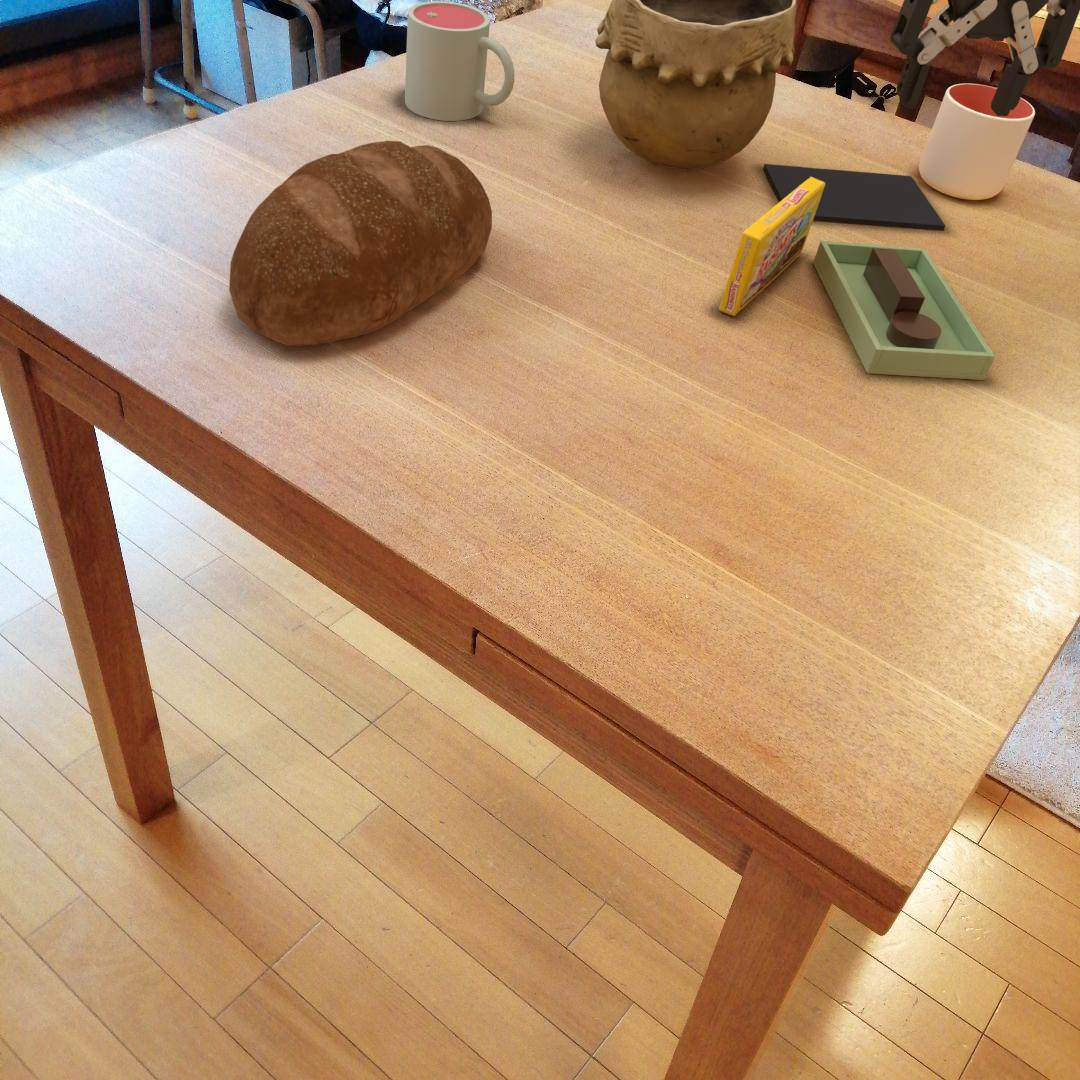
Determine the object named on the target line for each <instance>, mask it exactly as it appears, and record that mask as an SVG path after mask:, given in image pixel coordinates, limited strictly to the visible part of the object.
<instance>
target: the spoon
mask: <svg viewBox="0 0 1080 1080" xmlns="http://www.w3.org/2000/svg"><path fill="white" fill-rule="evenodd" d="M863 275H864V277H865V279H866V280H867V282H868V284H869V286H870V288H871V289H872V291H873V293H874V295H875V297H876V299H877V300H878V302H879V304H880V306H881V308H882V309H883V311H884V313H885V315H886V317H887V319H888V320H889V322H890V324H889V326H888V329H887V331H886V336H887V338H888V340H889V341H890V342H891V343H892V344H893V345H895V346H896V347H905V348H921V349H934V348H935V346H936V344H937V341H938V339H939V337H940V334H941V328H940V326H939V325H938V324H937V323H936V322H935V321H934V320H933V319H931V318H929V317H927V316H925V315H923V314H919V312H920V309H921V307H922V304H923V302H924V300H925V297H924V295H923V294H922V292H921V290H920V289H919V287H918V285H917V284H916V282H915V280H914V279H913V277H912V275H911V274H910V272H909V271H908V269H907V267H906V266H905V264H904V262H903V261H902V259H901V257H900V256H899V254H898V252H897V251H896V249H884V248H873V249H872V251H871V254H870V257H869V260H868V262H867V265H866V268H865V271H864V273H863Z"/></svg>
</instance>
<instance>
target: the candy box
mask: <svg viewBox="0 0 1080 1080" xmlns="http://www.w3.org/2000/svg"><path fill="white" fill-rule="evenodd" d="M824 187H825V182H823V181H820V180H818V179H815V178H813V177H810V178H809V179H807V180H806V181H805V182H803V183H802V184H801V185H800V186H798V187H797V188H796V189H795V190H794V191H792V192H791V193H790V194H789V195H788V196H786V197H785V198H784V199H783V200H782V201H780V202H779V201H778V203H777V204H775V205H774V206H773V207H772V208H770V209H769V210H768V211H766V212H765V213H764V214H763V215H762V216H760V218H759V219H757V220H756V221H755V222H753V223H752V224H751V225H750V226H749V227H747V229H745V230H744V231H743V232H742V235H741V238H740V241H739V244H738V247H737V250H736V254H735V257H734V260H733V263H732V266H731V269H730V272H729V276H728V279H727V282H726V285H725V288H724V291H723V295H722V298H721V301H720V304H719V307H718V311H719V312H721V313H723V314H727V315H729V316H731V317H736V315H737V314H739V313H740V311H741V310H743V309H744V308H745V307H746V306H747V305H748V304H749V303H750V302H752V301H753V299H755V298H756V297H757V296H758V295H759V294H760V293H761V292H763V290H765V289H766V288H767V287H768V286H769V285H770V284H771V283H772V282H773V281H774V280H775V279H776V278H777V277H778V276H779V275H780V274H781V273H783V272H784V270H786V269H787V268H788V267H789V266H790V265H791V264H792V263H793V262H794V261H795V260H796V259H797V258H799V257H800V256H801V255H802V252H803V250H804V246H805V244H806V241H807V239H808V235H809V233H810V231H811V227H812V224H813V222H814V220H813V219H814V216H815V213H816V210H817V207H818V205H819V202H820V199H821V196H822V193H823V190H824Z"/></svg>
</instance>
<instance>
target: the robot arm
mask: <svg viewBox="0 0 1080 1080" xmlns="http://www.w3.org/2000/svg"><path fill="white" fill-rule="evenodd" d="M938 1H939V0H903V2H902V4H901V7H900V10H899V13H898V15H897V18H896V19H895V20H896V21H895V23H894V26H893V28H892V31H891V33H890V36H889V40H890V42H891V43H892V44H893V46H894V47H895V48H896V49H897V50H898V51H899V53H900V54H902V55H904V56H906V58H905V60H904V61H905V62H904V64H903V67H902V70H901V73H900V76H899V80H898V82H897V85H896V95H897V96H898V98H899V102H900V104H902V106H903V107H904V108H906V109H915V108H916V107H917V105H918V102H919V99H920V96H921V93H922V91H923V88H924V84H925V83H926V79H927V76H928V74H929V71H930V69H931V65H930V64H929V62H931V61H932V60H933V59H935V57H936V56H937V55H939V54H940V53H941V52H942V51H943V50H944V49H945V48H948V47H951V46H953V45H955V44H956V43H957V42H958V41H959V40H960V39H962V37H964V36H965V37H966V39H973V40H978V39H979V40H980V39H985V38H987V39H990V40H992V41H994V42H1004V40H1005V42H1007V45H1008V46H1007V47H1008V50H1009V53H1010V57H1011V60H1012V62H1011V64H1008V63H1007V64H1006V65H1005V68H1004V70H1003V73H1002V75H1001V77H1000V80H999V83H998V85H997V87H996V88H997V90H996V92H995V95H994V97H993V100H992V102H991V109H992V110H993V111H994V112H995V113H996V115H997V116H1007V115H1008V114H1009V112H1010V110H1014V108H1015V107H1016V106H1017V105H1018V103H1019V100H1020V97H1021V98H1022V96H1023V93H1024V91H1025V88H1026V86H1027V84H1028V81H1029V79H1030V77H1031V75H1032V74H1033V73H1035V72H1036V70H1039V69H1042V68H1046V67H1047V68H1049V69H1054V68H1057V67H1058V66H1059V65H1060V63H1061V61H1062V59H1063V56H1064V54H1065V52H1066V48H1067V46H1068V44H1069V41H1070V37H1071V35H1072V32H1073V30H1074V27H1075V24H1076V21H1077V19H1078V16H1079V14H1080V0H947V4H945V6H944V7H942V8H941V9H940V10H939V11H938V12H937V13H936V14H935V15H934V16H932V17H931V18H930V20H929V21H928V24H927V26H926V27H925V28H924V29H923V27H924V24H925V22H926V19H927V17H928V15H929V11H930V10H931V7H932V6H933V5H935V4H937V3H938ZM1044 7H1045V9H1046V12H1047V15H1046V18H1045V21H1044V23H1043V27H1042V29H1041V31H1040V35H1039V37H1038V40H1037V43H1036V40H1035V36H1034V32H1033V28H1032V23H1031V19H1032V18H1033V17H1035V16H1036V14H1038V12H1040V11H1041V10H1042V9H1043V8H1044ZM952 22H953V23H952ZM951 23H952V24H951ZM922 29H923V30H922ZM1035 45H1036V46H1035Z"/></svg>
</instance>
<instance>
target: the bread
mask: <svg viewBox="0 0 1080 1080" xmlns="http://www.w3.org/2000/svg"><path fill="white" fill-rule="evenodd" d="M492 228H493V209H492V206H491V201H490V197H489V196H488V194H487V193H486V190H485V188H484V186H483V184H482V182H481V181H480V180H479V179H478V177H477V176H476V175H475V173H474V172H473V171H472V170H471V169H470V168H469V167H468V166H467V165H466V163H464V162H463V161H462V160H461V159H460V158H459V157H456V156H454V155H452V154H451V153H448V152H446V151H444V150H443V149H441V148H439V147H436V146H433V145H430V144H429V145H428V144H427V145H424V144H423V145H416V146H409V145H408V144H407V143H405V142H402V141H400V140H399V141H398V140H383V141H375V142H369V143H365V144H361V145H358V146H356V147H352V148H350V149H348V150H345V151H342V152H339V153H331V154H327V155H325V156H322V157H319V158H317V159H314V160H312V161H310V162H307V163H305V164H303V165H302V166H300V167H299V168H298V169H297V170H295V171H294V172H293V173H292V174H291V175H290V176H289V177H288V178H287V179H285V180H284V181H283V182H282V183H281V184H279V185H278V186H277V187H275V188H274V189H273V190H272V191H271V192H270V194H268V196H267V197H265V198H264V199H263V200H262V201H261V203H260V204H258V206H257V207H256V208H255V209H254V211H253V212H252V214H251V215H250V217H249V219H248V220H247V222H246V225H245V226H244V228H243V231H242V233H241V235H240V236H239V238H238V241H237V243H236V246H235V248H234V250H233V253H232V257H231V260H230V267H229V289H228V290H229V294H230V296H231V300H232V303H233V306H234V309H235V312H236V315H237V318H238V319H239V320H240V321H241V322H243V324H245V325H246V326H248V327H249V328H250V329H251V330H253V331H255V332H256V333H258V334H260V335H262V336H264V337H266V338H268V339H270V340H272V341H274V342H277V343H279V344H282V345H285V346H288V347H302V346H312V345H321V344H325V343H326V344H327V343H332V342H337V341H343V340H347V339H350V338H355V337H359V336H364V335H365V334H370V333H373V332H375V331H377V330H379V329H381V328H384V327H386V326H388V325H389V324H391V323H393V322H395V321H396V320H398V319H399V318H401V317H402V316H404V315H406V313H408V312H410V311H411V310H413V309H415V308H416V307H417V306H419V305H420V304H422V303H423V302H424V301H426V300H428V299H429V298H430V297H432V296H433V295H435V294H436V293H437V292H439V291H441V290H442V289H443V288H445V287H447V286H448V285H450V284H451V283H452V282H454V281H455V280H457V279H458V278H460V277H461V276H462V275H463V274H465V273H466V272H467V271H468V270H470V269H471V267H472V266H473V265H474V264H475V262H476V261H477V260H479V259H478V258H480V256H481V255H482V254H483V252H484V251H485V250H486V248H487V244H488V243H489V238H490V235H491V232H492Z"/></svg>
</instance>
